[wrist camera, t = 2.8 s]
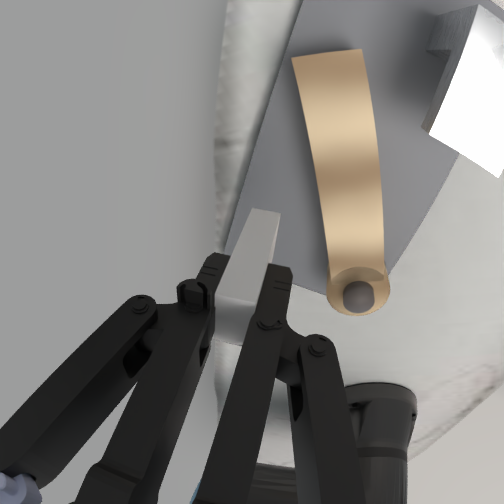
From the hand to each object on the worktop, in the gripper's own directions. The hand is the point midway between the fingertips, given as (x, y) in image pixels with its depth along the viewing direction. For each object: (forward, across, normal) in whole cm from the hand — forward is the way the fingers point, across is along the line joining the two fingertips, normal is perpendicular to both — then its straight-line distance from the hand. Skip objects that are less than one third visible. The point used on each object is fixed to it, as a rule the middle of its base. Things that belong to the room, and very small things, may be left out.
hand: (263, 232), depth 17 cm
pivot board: (+9, +5, +5) cm, 11 cm away
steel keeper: (+9, +10, +10) cm, 17 cm away
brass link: (+7, +5, +1) cm, 9 cm away
